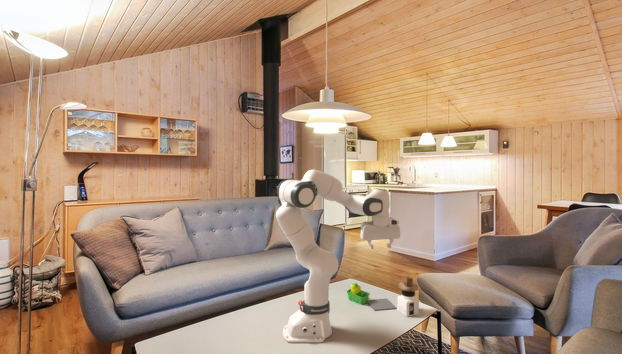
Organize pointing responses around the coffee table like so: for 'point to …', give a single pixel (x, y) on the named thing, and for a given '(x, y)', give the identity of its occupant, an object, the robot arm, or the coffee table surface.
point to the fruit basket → (357, 294)
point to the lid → (408, 285)
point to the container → (408, 304)
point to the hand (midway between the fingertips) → (380, 248)
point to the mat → (381, 304)
